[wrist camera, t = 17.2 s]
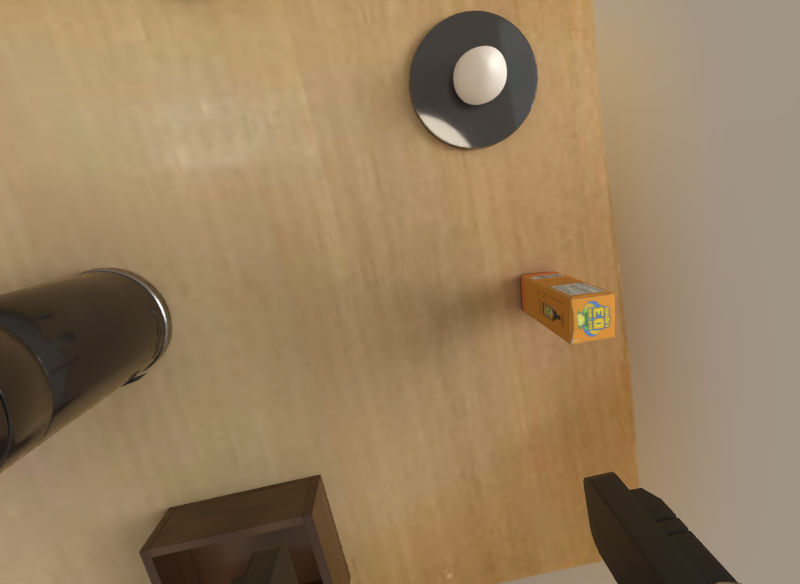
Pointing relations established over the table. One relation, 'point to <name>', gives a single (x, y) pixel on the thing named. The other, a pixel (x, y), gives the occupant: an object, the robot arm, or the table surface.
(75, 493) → the table surface
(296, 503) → the crate
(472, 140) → the coaster
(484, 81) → the egg
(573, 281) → the supplement box
